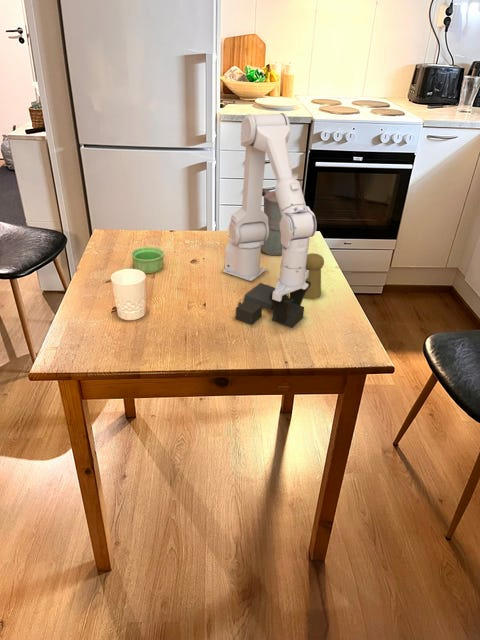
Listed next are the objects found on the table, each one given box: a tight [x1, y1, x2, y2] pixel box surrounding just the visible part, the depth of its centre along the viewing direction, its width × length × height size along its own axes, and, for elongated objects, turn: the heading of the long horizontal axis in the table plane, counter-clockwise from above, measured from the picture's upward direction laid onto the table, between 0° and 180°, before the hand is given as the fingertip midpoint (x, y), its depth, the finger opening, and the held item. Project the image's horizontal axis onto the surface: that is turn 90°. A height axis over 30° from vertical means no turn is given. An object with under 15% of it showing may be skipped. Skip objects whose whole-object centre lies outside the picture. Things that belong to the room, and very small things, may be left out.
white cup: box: [110, 268, 147, 321], centre depth 117 cm, size 8×8×10 cm
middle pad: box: [271, 303, 305, 329], centre depth 120 cm, size 6×6×3 cm
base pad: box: [243, 282, 276, 312], centre depth 128 cm, size 8×8×2 cm
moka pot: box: [261, 188, 283, 256], centre depth 149 cm, size 10×15×20 cm, turn 58°
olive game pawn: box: [303, 252, 325, 300], centre depth 129 cm, size 6×6×11 cm
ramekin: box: [131, 246, 165, 274], centre depth 140 cm, size 9×9×4 cm
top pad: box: [235, 299, 263, 326], centre depth 120 cm, size 5×5×3 cm
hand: (287, 314), depth 120 cm, fingers open, 6 cm apart
